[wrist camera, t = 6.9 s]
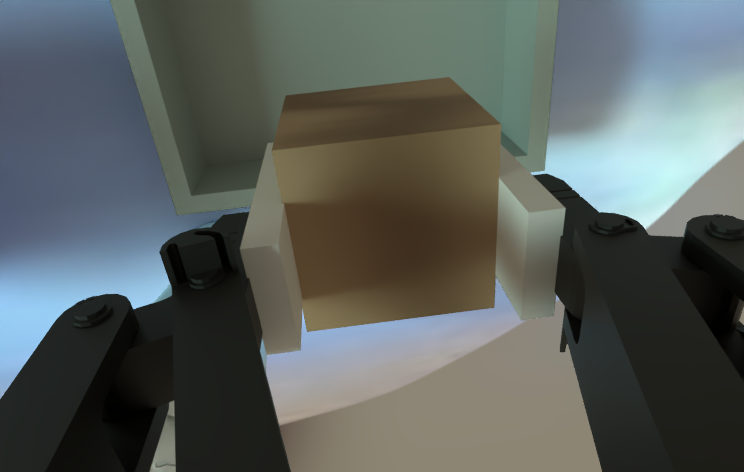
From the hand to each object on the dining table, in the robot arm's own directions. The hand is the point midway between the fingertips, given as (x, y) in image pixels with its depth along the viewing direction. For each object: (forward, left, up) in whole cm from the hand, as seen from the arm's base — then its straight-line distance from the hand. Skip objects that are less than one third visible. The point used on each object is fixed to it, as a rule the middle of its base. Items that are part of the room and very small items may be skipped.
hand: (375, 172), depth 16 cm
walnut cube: (0, 0, 0) cm, 0 cm away
